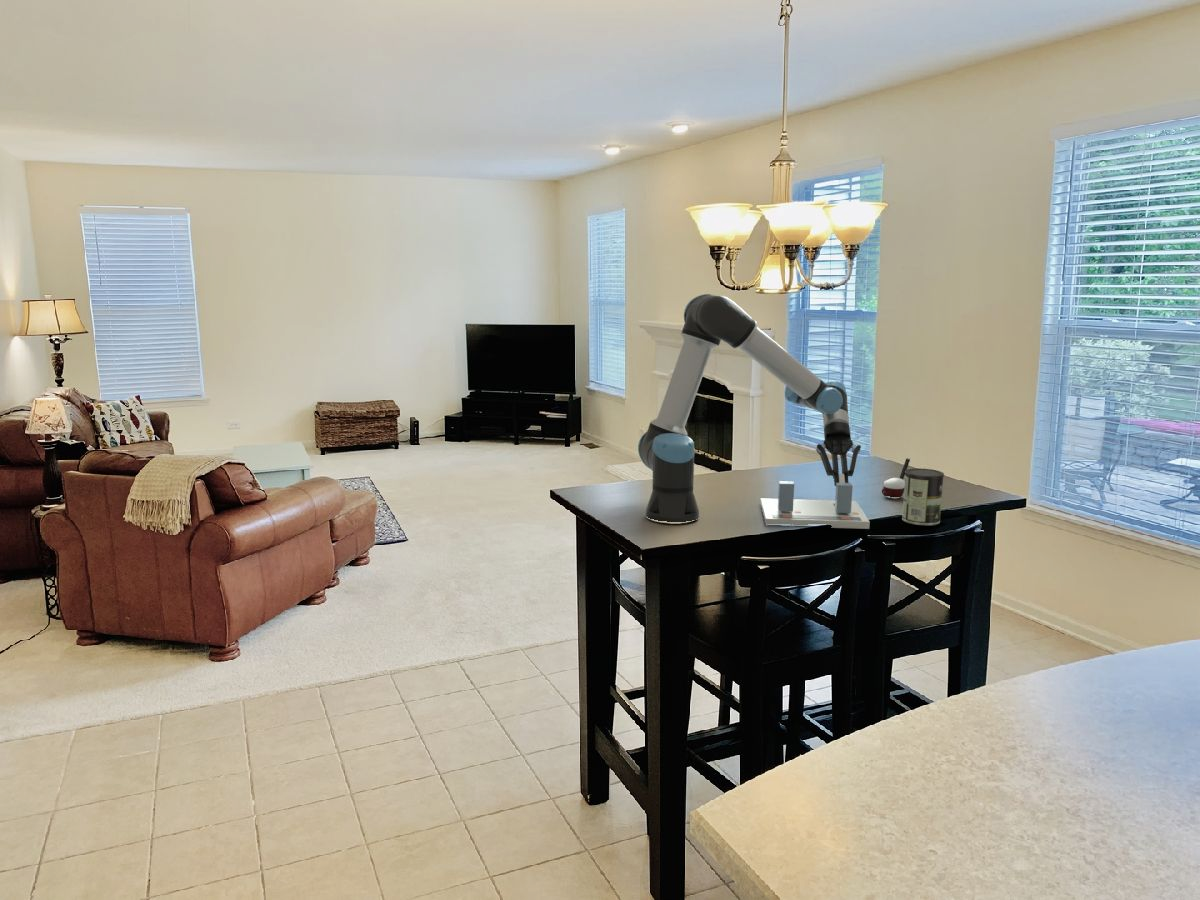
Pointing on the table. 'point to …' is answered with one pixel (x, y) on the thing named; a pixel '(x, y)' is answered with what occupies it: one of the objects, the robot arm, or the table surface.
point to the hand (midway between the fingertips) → (842, 495)
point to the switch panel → (814, 514)
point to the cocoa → (895, 484)
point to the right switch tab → (843, 497)
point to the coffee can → (922, 496)
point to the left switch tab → (785, 496)
